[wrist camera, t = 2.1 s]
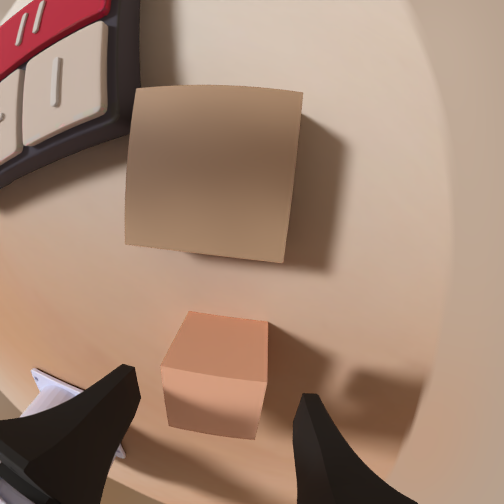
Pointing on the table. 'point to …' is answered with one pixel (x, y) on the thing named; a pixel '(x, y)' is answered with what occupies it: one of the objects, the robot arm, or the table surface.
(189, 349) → the terracotta block
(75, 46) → the calculator
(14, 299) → the table surface
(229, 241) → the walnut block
